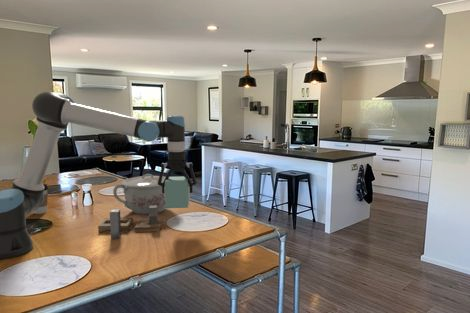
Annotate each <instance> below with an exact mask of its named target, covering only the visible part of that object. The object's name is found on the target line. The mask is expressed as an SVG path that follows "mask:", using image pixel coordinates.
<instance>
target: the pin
mask: <svg viewBox="0 0 470 313" xmlns="http://www.w3.org/2000/svg"><path fill="white" fill-rule="evenodd" d="M109 218H110V228H111V232H110V240H119V239H121V237H122V232H121V220H120V218H121V209H119V208H118V209H111V210H110V211H109Z"/></svg>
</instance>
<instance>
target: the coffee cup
mask: <svg viewBox="0 0 470 313" xmlns="http://www.w3.org/2000/svg"><path fill="white" fill-rule="evenodd" d="M42 184H43V185H44V187H45V188H44V191H43V193H44V200H43V202H42V204H41V205H40V207H39V208H38V209H37V210H35V211H33V212H34V214H36V215H40V214H41V215H42V214H45V213H47V212H48V199H49V198H48V195H49V194H48V190H49V187H48V184H47V183H46V184H45V183H42Z"/></svg>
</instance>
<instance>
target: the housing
mask: <svg viewBox="0 0 470 313" xmlns="http://www.w3.org/2000/svg"><path fill="white" fill-rule="evenodd" d="M188 177H189V175H188ZM189 178H190V177H189ZM188 185H189V184H188V179H186V178H185V177H184V176H169V178H168V180H165V202H166V208H165V209H188V208H189V204H190V201H188Z"/></svg>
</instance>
